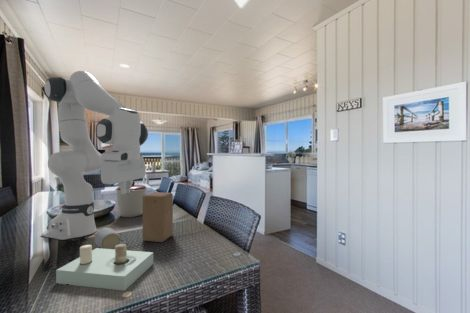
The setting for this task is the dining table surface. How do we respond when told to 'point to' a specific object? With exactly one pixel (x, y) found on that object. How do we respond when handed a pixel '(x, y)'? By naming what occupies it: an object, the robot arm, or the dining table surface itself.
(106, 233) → the ceramic mug
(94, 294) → the dining table surface
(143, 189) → the canister
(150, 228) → the wooden block
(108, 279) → the board
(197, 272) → the dining table surface
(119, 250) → the peg
